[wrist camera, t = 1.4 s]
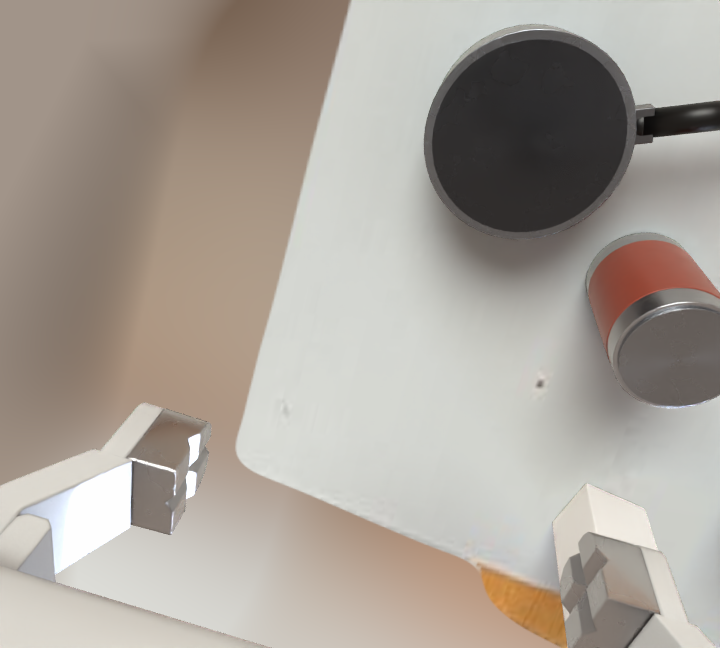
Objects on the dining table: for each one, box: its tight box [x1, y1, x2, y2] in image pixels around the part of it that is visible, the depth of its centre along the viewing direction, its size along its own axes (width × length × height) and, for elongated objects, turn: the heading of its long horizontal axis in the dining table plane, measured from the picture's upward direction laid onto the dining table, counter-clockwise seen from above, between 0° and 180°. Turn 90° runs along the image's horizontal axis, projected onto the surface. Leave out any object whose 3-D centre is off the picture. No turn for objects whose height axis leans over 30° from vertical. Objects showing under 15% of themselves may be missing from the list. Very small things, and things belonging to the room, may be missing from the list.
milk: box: [552, 483, 658, 647], centre depth 45 cm, size 6×6×22 cm
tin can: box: [586, 233, 720, 408], centre depth 38 cm, size 7×7×11 cm
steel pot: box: [424, 24, 720, 239], centre depth 36 cm, size 20×12×6 cm, turn 99°
